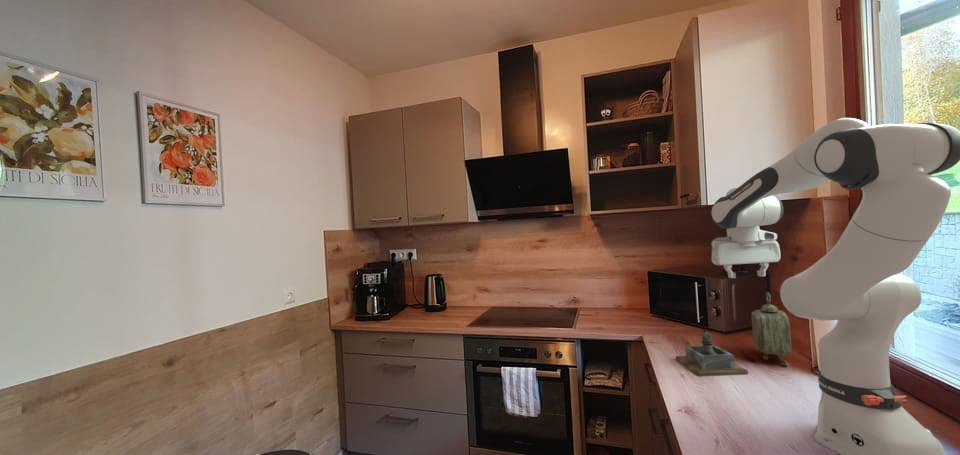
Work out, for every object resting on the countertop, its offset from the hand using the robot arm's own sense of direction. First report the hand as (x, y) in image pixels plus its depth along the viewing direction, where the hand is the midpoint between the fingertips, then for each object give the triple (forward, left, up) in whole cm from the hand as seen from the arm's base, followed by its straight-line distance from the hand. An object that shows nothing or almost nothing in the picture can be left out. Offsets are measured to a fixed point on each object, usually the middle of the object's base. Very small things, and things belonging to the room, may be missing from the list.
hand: (746, 277), depth 117 cm
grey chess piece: (+10, +9, -32) cm, 35 cm away
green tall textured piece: (+13, -15, -33) cm, 39 cm away
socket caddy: (+10, +9, -33) cm, 36 cm away
